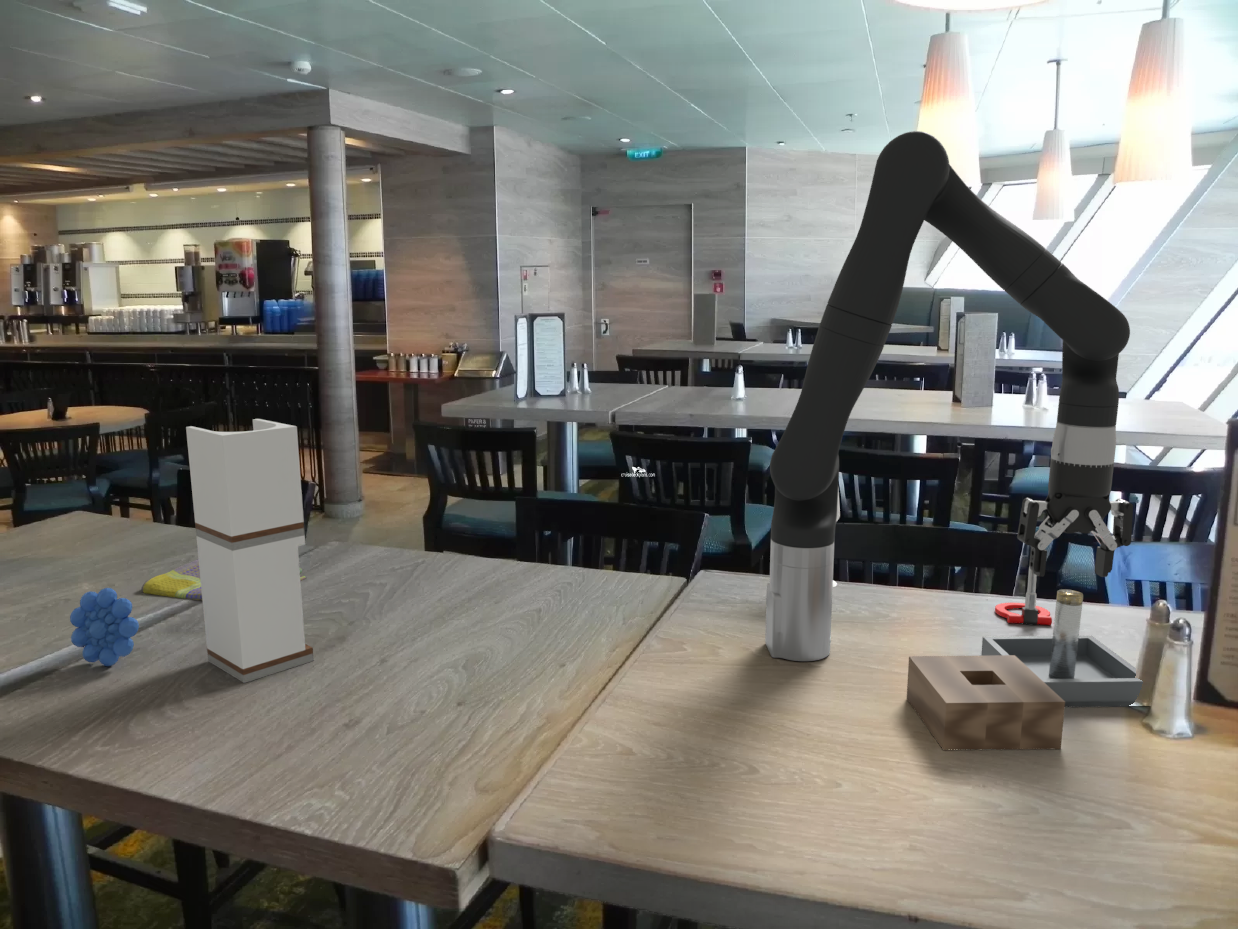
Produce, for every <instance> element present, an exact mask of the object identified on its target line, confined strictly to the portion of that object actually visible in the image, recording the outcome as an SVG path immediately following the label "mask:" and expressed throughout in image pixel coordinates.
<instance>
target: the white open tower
mask: <svg viewBox="0 0 1238 929" xmlns="http://www.w3.org/2000/svg"><path fill="white" fill-rule="evenodd" d="M252 427H253V428H252V429H253V430H247V431H214V430H212V429H211V430H210V429H206V428H202V427H196V426H192V425H190V426H186V427H185V430H186V441H187V450H188V451H187V452H188V462H189V471H190V472H189V473H190V482H191V491H192V492H191V493H192V494H191V495H192V503H193V504H192V505H193V513H194V515H193V516H194V524H195V525H194V526H195V537H196V547H197V557H198V558H197V559H199V569H200V580H201V590H202V600H201V601H202V611H203V620H204V630H205V642H206V650H207V651H206V652H207V661H208V662H209V663H210V664H211V665H214V666H216V668H219V669H220V670H222V671H224V672H225V673H227V674H228V675H230V676H232V677H233V678H235V679H237V680H239V681H240V682H242V683H243V684H246V683H248V682H251V681H254V680H258V679H261V678H264V677H267V676H270V675H273V674H277V673H280V672H283V671H286V670H289V669H292V668H295V667H299V666H302V665H304V664H308V663H311V662H314V661H315V660H314V647H312V646H310V645H308V644H306V640H305V636H306V635H305V624H304V615H303V614H304V611H303V598H302V587H301V586H302V584H301V581H300V576H301V574H300V568H301V567H300V558H299V557H300V556H299V547H300V546H305V545H306V538H305V537H306V536H305V534H306V533H305V523H304V522H305V521H304V509H303V508H304V507H303V494H302V492H303V491H302V480H301V479H302V478H301V466H300V454H299V453H300V451H299V437H298V426H296V425H291V424H288V423H287V424H286V423H281V422H278V421H272V420H266V419H263V418H255V419H253V418H252Z"/></svg>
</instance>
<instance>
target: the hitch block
mask: <svg viewBox="0 0 1238 929" xmlns="http://www.w3.org/2000/svg"><path fill="white" fill-rule="evenodd" d="M907 665H908V667H907V668H908V669H907V670H908V671H907V684H906V685H907V686H906V687H907V688H906V700H907V701H908V703H909V704H910V705H911V707H912V709H913V711H915V713H916V714H917V716H918V717H919V718H920V720H921V721H922V722H923V724H924V725H925V727H926V728H927V730H928V731H929V733H930V734H931V735H932V737H933V736H934V737H933V738H934V739H935V740H937V741H936V742H937V743H939V746H940V748H941V747H942V748H941V750H943V749H944V750H943V751H962V750H961V749H965V750H964V751H967V750H966V749H970V750H969V751H972V750H971V749H975V750H974V751H977V750H976V749H982V750H983V749H996V750H1001V749H1002V750H1003V749H1004V751H1006V750H1008V749H1009V750H1061V749H1062V740H1063V731H1064V730H1063V727H1064V718H1065V717H1064V716H1065V708H1066V707H1065V701H1064V700H1063V699H1062V698H1061V697H1059V696H1058V695H1057V694H1056V693H1055V692H1054V691H1053V690H1052V689H1051V688H1050V687H1049V686H1048V685H1046V684H1045V683H1044V682H1043V681H1042V680H1041V679H1040V678H1039V677H1038V676H1037V675H1036V674H1035V673H1033V672H1032V671H1031V670H1030V669H1029V668H1028V667H1027V666H1026V665H1025V664H1024V663H1023V662H1022V661H1020V660H1019V659H1018V658H1017V657H1016V656H1015V655H989V656H981V655H912V656H911V655H909V656H908V664H907ZM946 749H947V750H946ZM948 749H950V750H948ZM951 749H952V750H951ZM954 749H955V750H954ZM956 749H958V750H956ZM959 749H960V750H959ZM982 750H981V751H982ZM1002 750H1001V751H1002ZM983 751H984V750H983Z"/></svg>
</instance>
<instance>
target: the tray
mask: <svg viewBox="0 0 1238 929" xmlns="http://www.w3.org/2000/svg"><path fill="white" fill-rule="evenodd" d="M1052 638H1053V635H1027V636H1026V635H1020V636H1019V635H1015V636H1014V635H1013V636H1012V635H1011V636H1008V635H1005V636H1004V635H1002V636H994V635H993V636H982V638H981V639H982V640H981V652H980V654H981V655H980V656H989V655H1015V656H1016V657H1017V658H1018V659H1019V660H1020V661H1022V662H1023V663H1024V664H1025V665H1026V666H1027V667H1028V668H1029V669H1030V670H1031V671H1032V672H1033V673H1035V674H1036V675H1037V676H1038V677H1039V678H1040V679H1041V680H1042V681H1043V682H1044V683H1045V684H1046V685H1048V686H1049V687H1050V688H1051V689H1052V690H1053V691H1054V692H1055V693H1056V694H1057V695H1058V696H1059V697H1061V698H1062V699H1063V700H1064V701H1065V708H1110V707H1113V708H1115V707H1116V708H1117V707H1125V708H1126V707H1128V706H1129V705H1131V704H1133V703H1134V702H1135V700H1136V699H1137V697H1138V696H1139V693H1140V690H1141V689H1142V688H1141V687H1142V684H1143V681H1142V680H1140V679H1138V678H1135V676H1136V668H1137V667H1135V666H1134V665H1132V664H1131V663H1130V662H1128V661H1127V660H1125V658H1123V657H1122V656H1120V655H1119V654H1117V652H1115V651H1114V650H1113V649H1111V648H1109V647H1108V646H1107V645H1105V644H1104V643H1102V642H1101V641H1100V640H1098V639H1097V638H1096V637H1095V636H1093V635H1079V639H1078V648H1077V657H1076V666H1075V675H1074V679H1054V678H1052V677H1051V676H1050V675H1049V667H1050V657H1051V647H1052ZM1137 695H1138V696H1137Z"/></svg>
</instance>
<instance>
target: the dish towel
mask: <svg viewBox="0 0 1238 929" xmlns="http://www.w3.org/2000/svg"><path fill="white" fill-rule="evenodd" d="M299 568H300V582H301V581H304V580H305V579H307V577H306V576H305V575H301V574H302V573H303V569H302V568H301V567H299ZM141 591H142V592H143V594H146V595H147V594H149V595H150V594H151V595H154V596H159V597H160V596H162V597H168V598H176V599H183V600H185V599H186V600H195V601H202V590H201V580H200V569H199V559H198V558H197V559H195V560H193V561H190V562H188V563H184V564H182V565H180V566H178V567H176V568H174V569H172V570H170V571H168V572H165V573H161V574H159V575H158V574H157V575H156V576H153V577H152V578H149V579H148V580H146V581H145V582H144V583H143V585H142V586H141Z"/></svg>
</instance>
